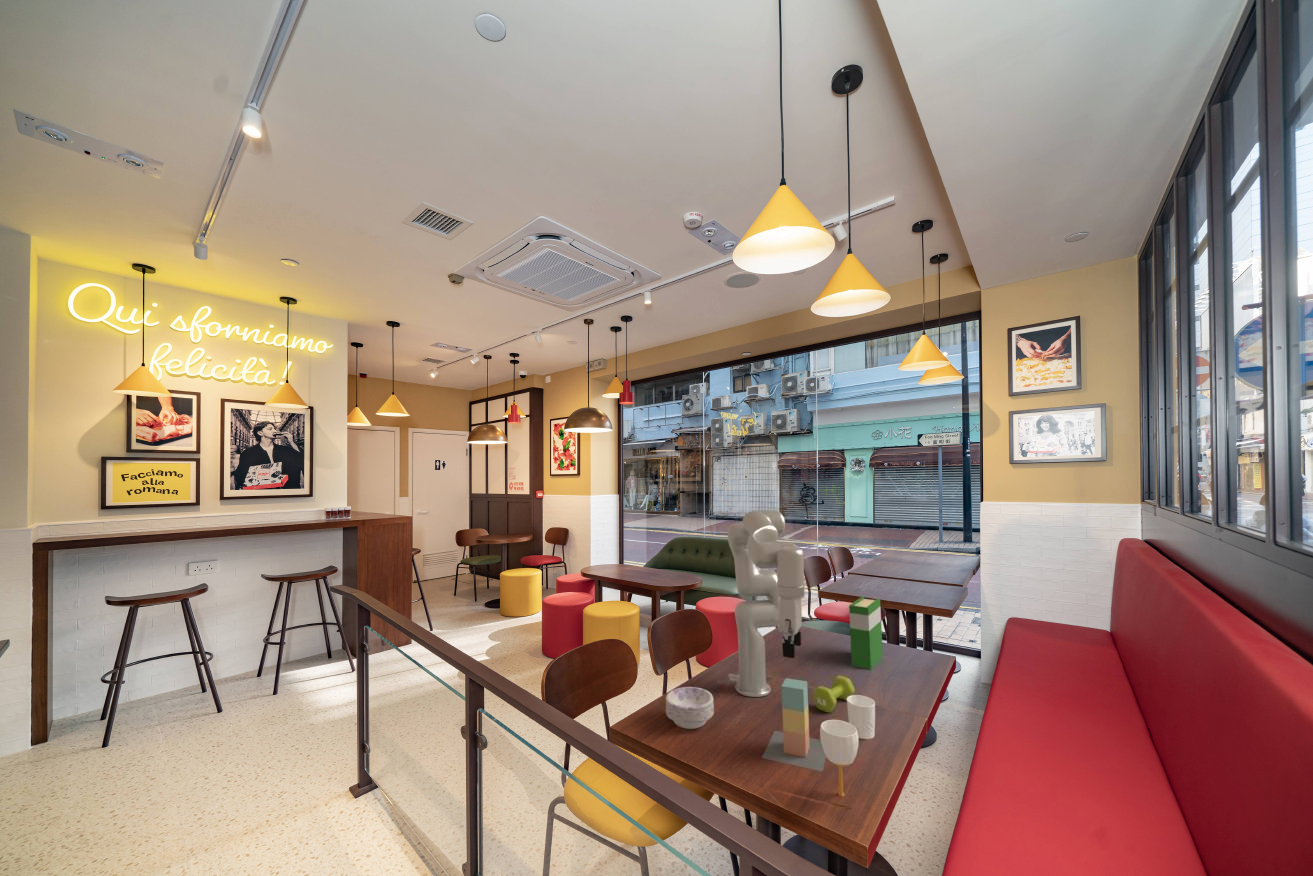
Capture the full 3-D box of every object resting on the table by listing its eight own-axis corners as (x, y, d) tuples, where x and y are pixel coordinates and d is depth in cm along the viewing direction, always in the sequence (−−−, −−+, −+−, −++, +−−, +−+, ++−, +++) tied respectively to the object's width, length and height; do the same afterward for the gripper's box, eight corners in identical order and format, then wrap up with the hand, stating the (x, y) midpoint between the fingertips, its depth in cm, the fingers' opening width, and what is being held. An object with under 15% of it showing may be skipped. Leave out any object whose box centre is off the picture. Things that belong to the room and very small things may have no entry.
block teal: (782, 708, 142) (781, 685, 142) (786, 699, 147) (786, 678, 147) (804, 712, 139) (803, 689, 139) (807, 703, 144) (807, 681, 145)
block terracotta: (783, 752, 141) (783, 730, 141) (788, 742, 146) (787, 720, 147) (806, 757, 138) (805, 734, 139) (809, 746, 144) (808, 724, 144)
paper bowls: (674, 737, 151) (673, 710, 152) (660, 714, 166) (660, 689, 166) (721, 729, 155) (720, 703, 156) (704, 708, 170) (703, 683, 170)
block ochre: (783, 730, 141) (782, 708, 142) (787, 720, 147) (786, 699, 147) (805, 734, 139) (804, 712, 139) (808, 724, 144) (808, 703, 144)
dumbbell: (832, 716, 163) (831, 693, 163) (810, 708, 169) (809, 685, 169) (857, 700, 174) (856, 678, 174) (835, 693, 179) (835, 672, 180)
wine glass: (853, 814, 116) (850, 741, 117) (815, 797, 122) (812, 729, 123) (867, 795, 123) (864, 726, 124) (830, 780, 129) (828, 715, 130)
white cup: (874, 745, 145) (872, 708, 146) (845, 737, 149) (844, 702, 150) (878, 732, 152) (876, 698, 152) (851, 726, 156) (849, 692, 157)
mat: (761, 759, 138) (761, 757, 138) (774, 732, 153) (774, 730, 153) (822, 774, 132) (822, 771, 132) (830, 744, 146) (830, 741, 146)
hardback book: (864, 653, 218) (862, 596, 220) (882, 656, 214) (880, 598, 215) (851, 665, 204) (849, 605, 206) (871, 670, 200) (868, 608, 201)
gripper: (783, 582, 155) (785, 639, 154) (770, 597, 139) (772, 660, 139) (809, 585, 152) (810, 642, 151) (798, 600, 136) (800, 664, 135)
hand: (792, 650), depth 145 cm, fingers open, 9 cm apart
